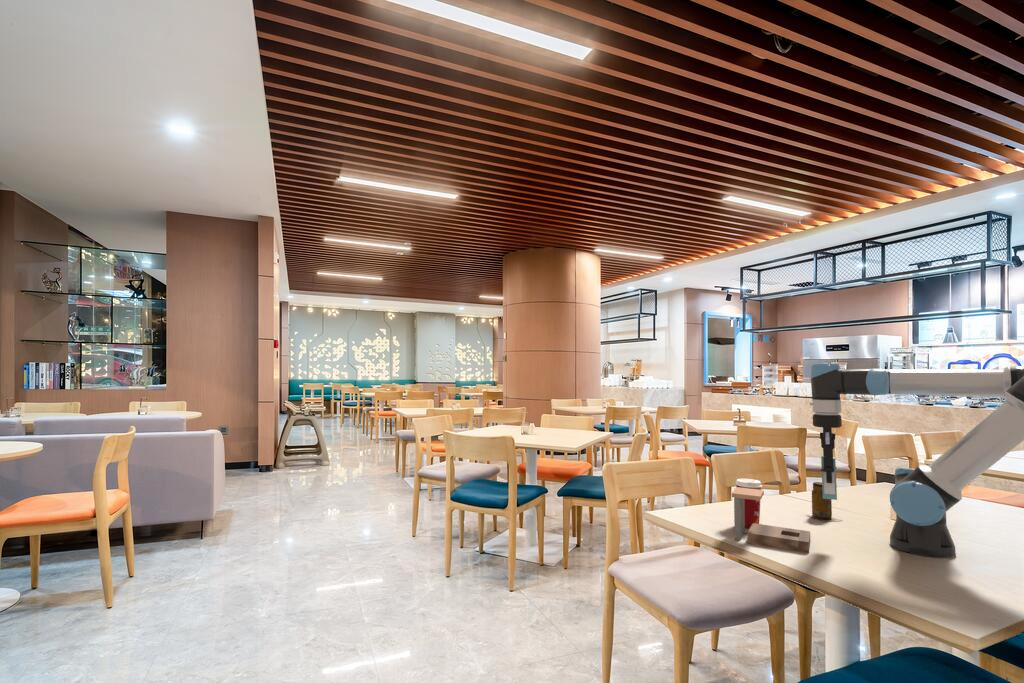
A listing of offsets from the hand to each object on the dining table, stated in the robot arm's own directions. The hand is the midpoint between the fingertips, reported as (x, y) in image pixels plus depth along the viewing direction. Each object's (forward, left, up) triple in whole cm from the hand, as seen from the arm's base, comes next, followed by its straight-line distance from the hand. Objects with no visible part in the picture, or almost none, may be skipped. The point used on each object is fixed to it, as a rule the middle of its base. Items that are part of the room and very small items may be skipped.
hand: (829, 492), depth 158 cm
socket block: (+13, +6, -15) cm, 21 cm away
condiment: (+2, -32, -16) cm, 36 cm away
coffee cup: (+23, -7, -16) cm, 29 cm away
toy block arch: (+22, +6, -15) cm, 27 cm away
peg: (0, 0, -2) cm, 2 cm away
